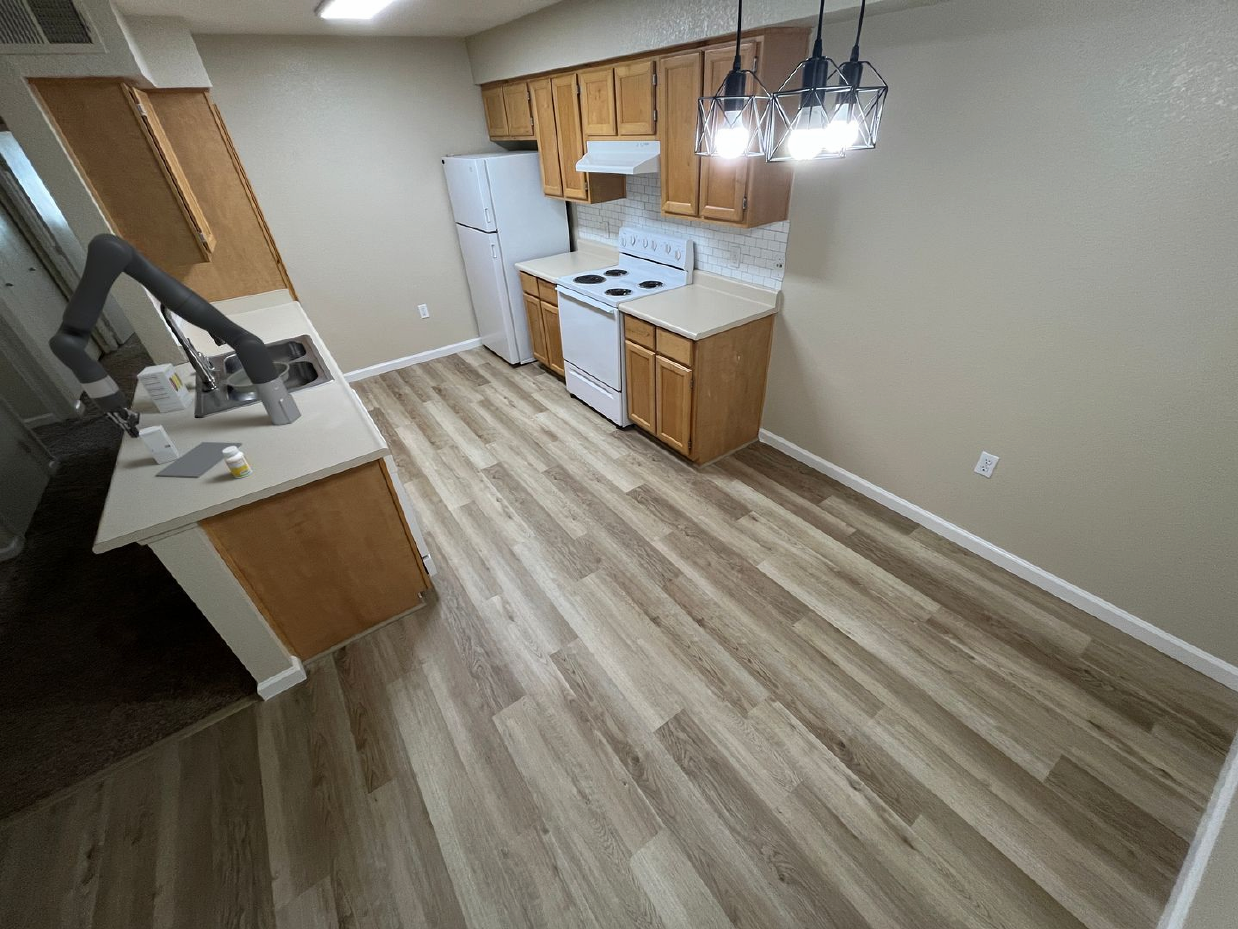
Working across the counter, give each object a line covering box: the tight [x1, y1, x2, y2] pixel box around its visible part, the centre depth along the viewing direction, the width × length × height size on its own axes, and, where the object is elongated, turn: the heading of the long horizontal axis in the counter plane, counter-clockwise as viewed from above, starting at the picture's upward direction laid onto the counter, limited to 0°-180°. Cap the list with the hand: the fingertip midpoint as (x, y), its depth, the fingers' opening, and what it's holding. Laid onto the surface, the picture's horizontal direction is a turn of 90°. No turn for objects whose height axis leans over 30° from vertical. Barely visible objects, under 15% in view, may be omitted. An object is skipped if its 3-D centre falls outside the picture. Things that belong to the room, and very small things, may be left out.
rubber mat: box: [155, 441, 243, 479], centre depth 176 cm, size 16×20×1 cm
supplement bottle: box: [222, 446, 254, 479], centre depth 165 cm, size 5×5×10 cm
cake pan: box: [226, 361, 290, 394], centre depth 226 cm, size 25×25×4 cm
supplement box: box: [136, 363, 194, 414], centre depth 207 cm, size 10×9×17 cm
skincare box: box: [139, 424, 180, 465], centre depth 174 cm, size 6×4×12 cm
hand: (136, 436), depth 174 cm, fingers closed
